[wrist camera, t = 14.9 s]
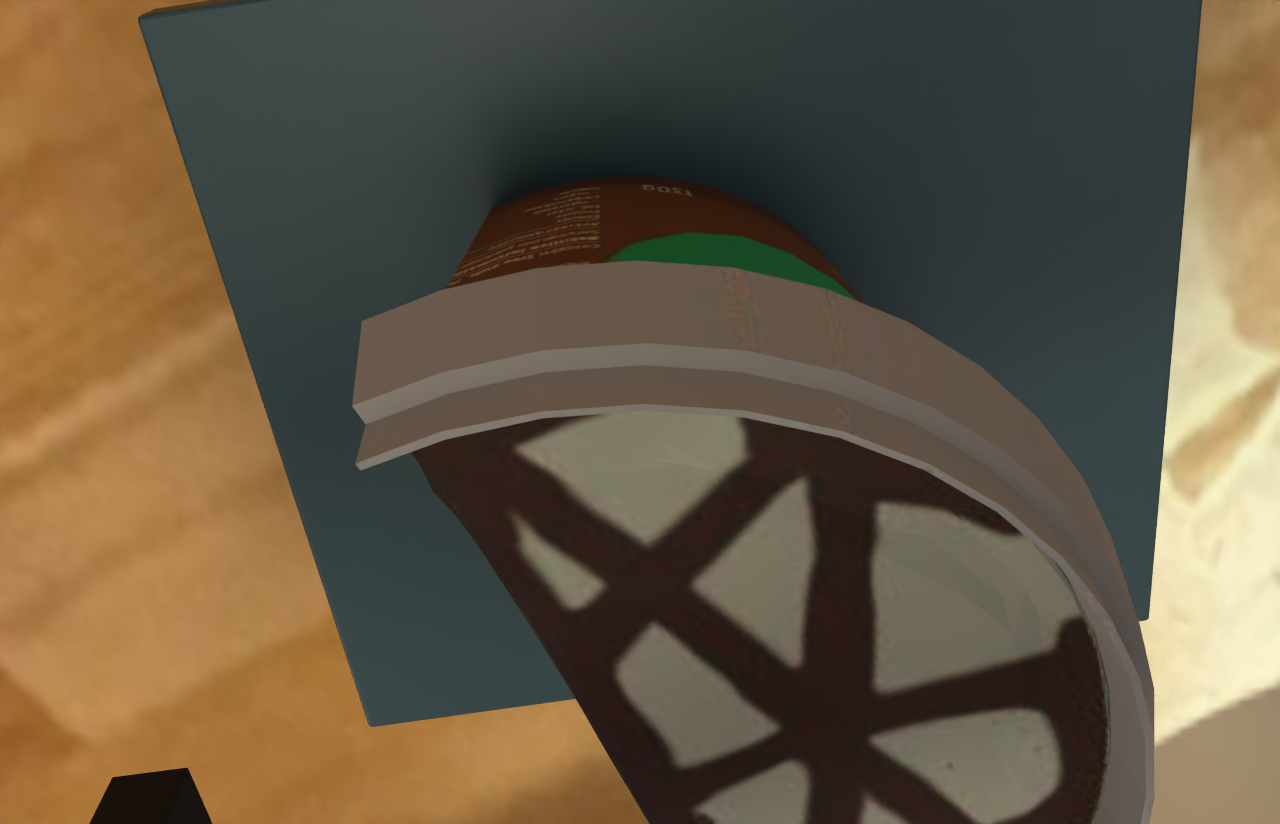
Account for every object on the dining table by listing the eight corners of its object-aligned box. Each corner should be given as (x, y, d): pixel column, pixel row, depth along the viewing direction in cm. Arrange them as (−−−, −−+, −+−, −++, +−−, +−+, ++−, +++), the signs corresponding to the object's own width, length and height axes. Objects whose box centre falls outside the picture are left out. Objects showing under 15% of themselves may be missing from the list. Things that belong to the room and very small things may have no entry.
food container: (1026, 545, 23) (1310, 1006, 14) (745, 659, 24) (842, 1156, 15) (794, -50, 18) (1013, 86, 9) (445, 130, 19) (320, 416, 10)
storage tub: (1045, -158, 24) (1217, -150, 17) (1029, 452, 30) (1150, 621, 24) (253, -36, 24) (135, 16, 18) (412, 539, 31) (368, 728, 24)
